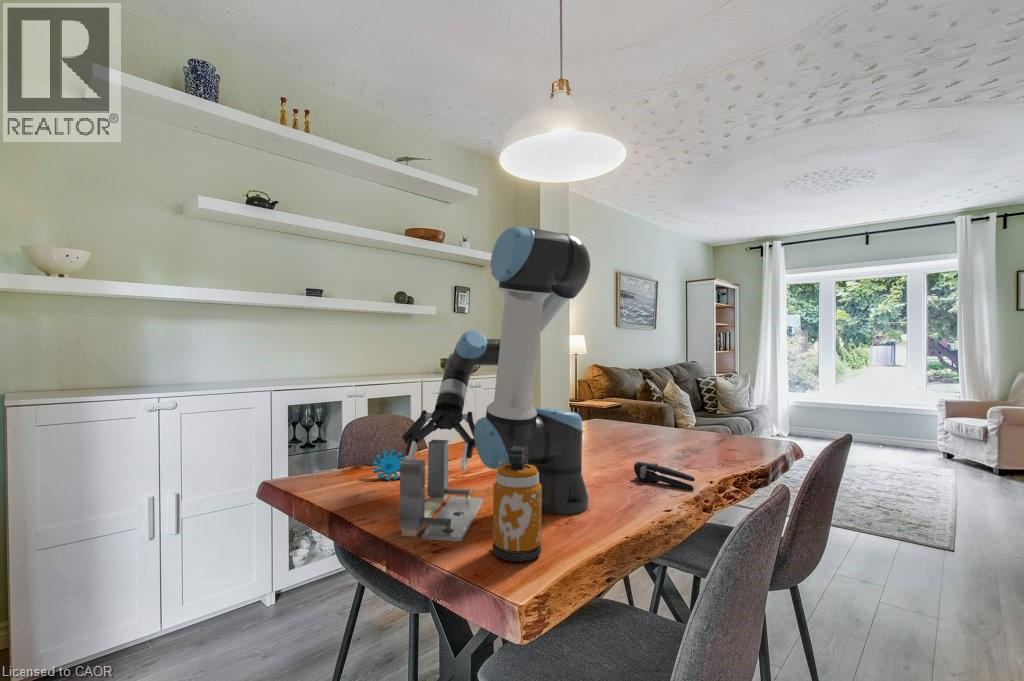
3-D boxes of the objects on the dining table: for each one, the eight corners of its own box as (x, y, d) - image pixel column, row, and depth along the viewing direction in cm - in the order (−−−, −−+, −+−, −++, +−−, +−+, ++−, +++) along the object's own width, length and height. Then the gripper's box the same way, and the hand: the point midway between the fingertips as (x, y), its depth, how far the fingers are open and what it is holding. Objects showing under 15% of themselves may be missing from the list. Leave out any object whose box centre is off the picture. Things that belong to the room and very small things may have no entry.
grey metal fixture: (433, 496, 123) (434, 439, 123) (472, 498, 122) (473, 440, 122) (399, 535, 97) (400, 463, 98) (447, 538, 96) (448, 465, 96)
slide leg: (432, 493, 122) (432, 439, 122) (471, 495, 121) (471, 440, 121) (427, 498, 118) (428, 442, 118) (468, 500, 117) (468, 444, 117)
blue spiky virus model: (369, 476, 135) (376, 446, 142) (368, 487, 139) (376, 457, 146) (409, 480, 137) (414, 450, 144) (407, 491, 141) (412, 461, 148)
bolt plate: (451, 499, 121) (451, 496, 121) (482, 501, 120) (483, 497, 120) (422, 539, 96) (422, 534, 96) (461, 541, 95) (461, 537, 95)
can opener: (629, 480, 141) (629, 461, 141) (640, 476, 146) (640, 457, 146) (689, 493, 129) (689, 472, 129) (699, 488, 134) (699, 468, 134)
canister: (488, 562, 86) (489, 449, 86) (499, 538, 97) (500, 438, 97) (538, 566, 84) (539, 452, 85) (544, 541, 95) (545, 440, 96)
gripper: (497, 409, 135) (487, 477, 120) (410, 406, 137) (390, 473, 122) (494, 391, 129) (484, 461, 114) (404, 389, 132) (382, 457, 117)
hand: (435, 467), depth 118 cm, fingers open, 13 cm apart
